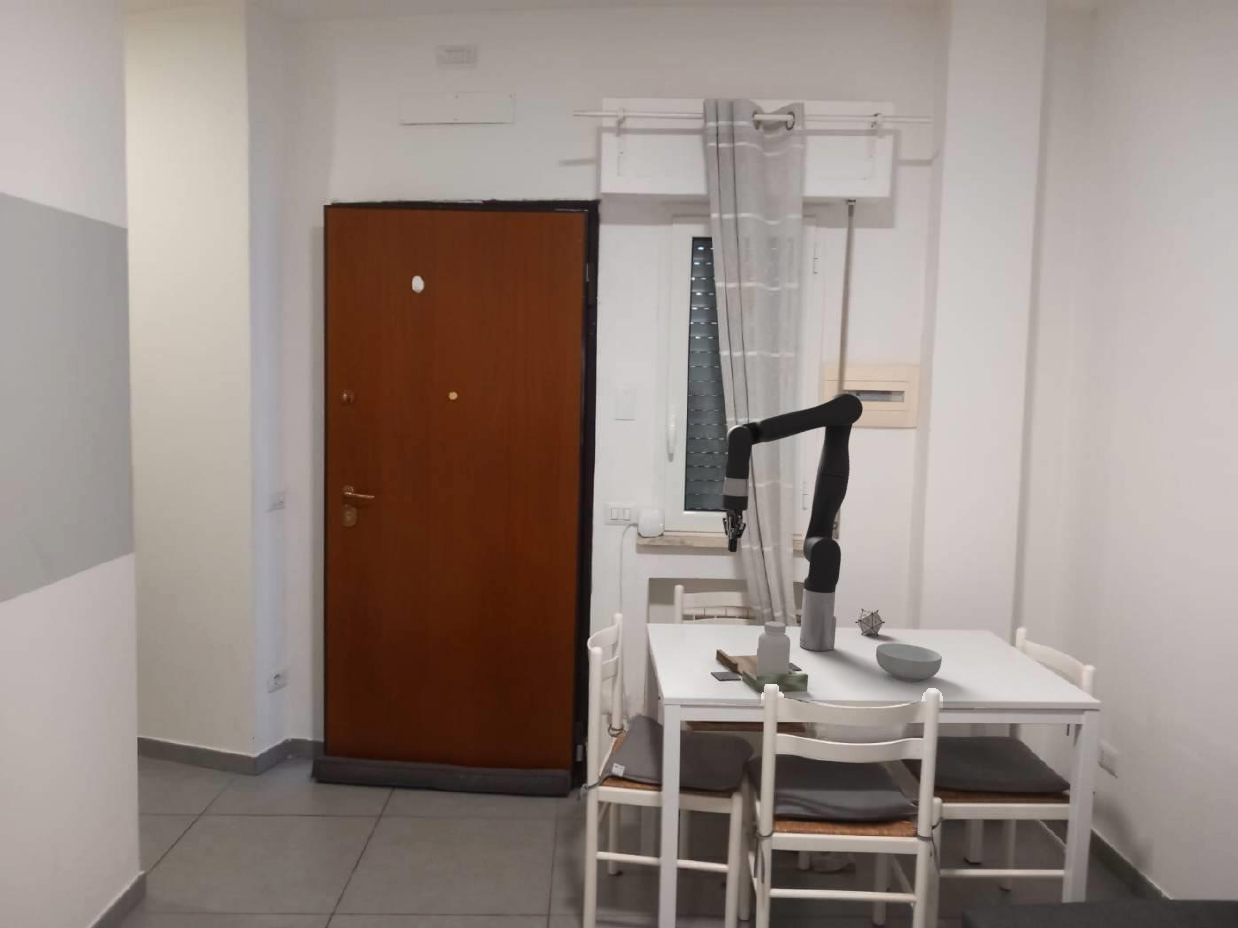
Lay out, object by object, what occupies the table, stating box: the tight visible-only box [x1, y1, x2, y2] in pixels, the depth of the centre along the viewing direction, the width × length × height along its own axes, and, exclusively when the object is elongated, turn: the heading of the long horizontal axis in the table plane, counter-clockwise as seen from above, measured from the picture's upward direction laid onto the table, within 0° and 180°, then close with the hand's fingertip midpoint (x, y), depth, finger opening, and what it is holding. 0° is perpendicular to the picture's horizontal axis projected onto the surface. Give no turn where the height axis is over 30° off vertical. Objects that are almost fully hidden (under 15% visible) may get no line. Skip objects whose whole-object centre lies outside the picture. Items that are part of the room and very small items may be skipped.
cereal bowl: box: [875, 642, 943, 683], centre depth 235 cm, size 17×17×7 cm
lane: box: [710, 648, 809, 694], centre depth 231 cm, size 26×28×4 cm
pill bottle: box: [757, 621, 791, 675], centre depth 222 cm, size 8×8×15 cm
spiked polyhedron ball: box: [854, 608, 886, 637], centre depth 278 cm, size 9×8×10 cm
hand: (732, 551), depth 259 cm, fingers closed
